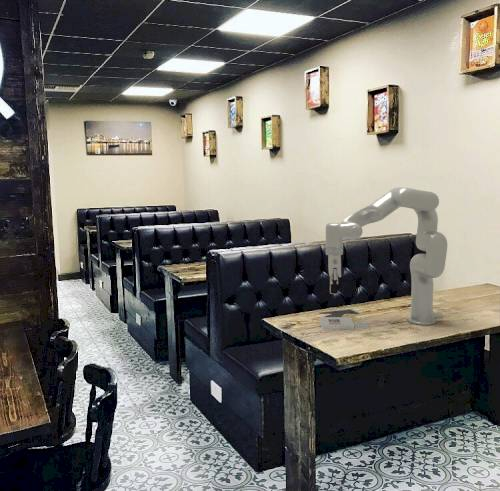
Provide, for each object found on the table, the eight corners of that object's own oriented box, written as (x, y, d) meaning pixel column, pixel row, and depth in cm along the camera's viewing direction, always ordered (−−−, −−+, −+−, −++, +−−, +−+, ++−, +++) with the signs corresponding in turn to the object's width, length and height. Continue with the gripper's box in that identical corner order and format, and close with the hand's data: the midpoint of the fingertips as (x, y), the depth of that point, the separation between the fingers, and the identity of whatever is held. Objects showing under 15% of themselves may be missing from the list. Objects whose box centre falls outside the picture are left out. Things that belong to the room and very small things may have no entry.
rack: (366, 324, 231) (366, 316, 230) (370, 332, 219) (370, 324, 218) (319, 324, 233) (319, 316, 232) (321, 332, 221) (321, 323, 220)
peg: (337, 292, 226) (337, 277, 225) (338, 294, 222) (338, 278, 222) (329, 292, 226) (329, 277, 225) (330, 294, 223) (330, 278, 222)
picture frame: (329, 324, 235) (368, 319, 242) (329, 318, 235) (368, 314, 242) (314, 316, 250) (351, 312, 257) (314, 310, 250) (351, 306, 257)
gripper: (344, 253, 214) (344, 296, 216) (341, 248, 230) (340, 288, 232) (326, 253, 214) (326, 296, 216) (324, 248, 231) (324, 288, 233)
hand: (333, 291), depth 224 cm, fingers closed on peg, 3 cm apart
